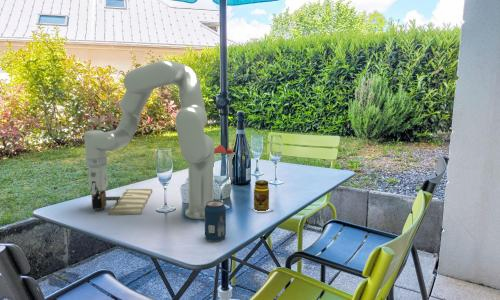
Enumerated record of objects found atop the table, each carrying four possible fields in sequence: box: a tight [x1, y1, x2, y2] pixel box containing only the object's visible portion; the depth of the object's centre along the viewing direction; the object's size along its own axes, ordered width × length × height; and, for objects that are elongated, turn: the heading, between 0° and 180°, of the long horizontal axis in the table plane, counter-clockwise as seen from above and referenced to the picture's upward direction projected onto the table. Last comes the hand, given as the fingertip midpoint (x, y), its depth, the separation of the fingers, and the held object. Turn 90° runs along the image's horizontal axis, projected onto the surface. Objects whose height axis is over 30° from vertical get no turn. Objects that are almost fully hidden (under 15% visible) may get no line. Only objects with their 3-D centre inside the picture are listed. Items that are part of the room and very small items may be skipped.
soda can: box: [204, 200, 227, 242], centre depth 121 cm, size 7×7×12 cm
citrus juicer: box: [214, 144, 236, 183], centre depth 187 cm, size 16×17×20 cm
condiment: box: [253, 179, 270, 211], centre depth 149 cm, size 7×8×12 cm
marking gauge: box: [91, 190, 121, 210], centre depth 148 cm, size 5×10×6 cm, turn 96°
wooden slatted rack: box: [108, 188, 153, 216], centre depth 157 cm, size 30×12×2 cm, turn 6°
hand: (99, 205), depth 148 cm, fingers closed on marking gauge, 5 cm apart
